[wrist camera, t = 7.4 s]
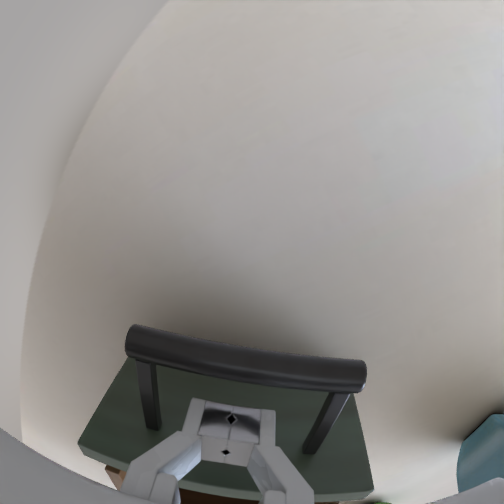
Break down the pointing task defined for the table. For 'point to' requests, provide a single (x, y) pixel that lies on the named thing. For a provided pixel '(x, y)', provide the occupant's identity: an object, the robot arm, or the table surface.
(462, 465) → the flower pot
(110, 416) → the drawer
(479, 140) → the table surface
